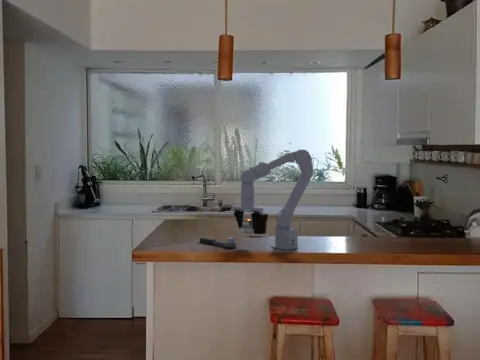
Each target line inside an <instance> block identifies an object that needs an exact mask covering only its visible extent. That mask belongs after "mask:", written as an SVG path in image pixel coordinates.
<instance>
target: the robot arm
mask: <svg viewBox="0 0 480 360" xmlns="http://www.w3.org/2000/svg"><path fill="white" fill-rule="evenodd" d="M295 162H296V164H297V165H298V167H299V169H300V172H301V173H300V174H299V176H298V179H297V180H296V183H295V184H294V187H293V188H292V191H291V193H289V194H290V195H289V197H288V199H287V200H286V203H284V206H283V207H282V209H281V210H280V211H279V212H278V213H277V214H276V217H275V219H276V225H275V233H274V234H275V236H274V238H275V239H274V243H275V245H271V246H270V247H271V248H274V249H279V250H285V251H288V250H289V251H290V250H295V249H298V248H299V247H300V246H298V237H299V236H298V231H297V229H294V228H293V226H292V222H293V220H292V218H293V216H294V214H295V210H296V208H297V206H298V205H299V202H300V200H301V198H302V196H303V195H304V192H305V190H306V188H307V187H308V184H309V183H310V180H311V179H312V176H313V174H314V169H313V158H312V156H311V154H310V152H309V151H308V150H306V149H297V150H296V151H291V152H287V153H286V154H283V155H282V156H280V157H278V158H276V159H274V160H272V161H270V162H266V161H263V162H262V161H260V162H258V164H257V165H254V166H253V167H252V166H250V167H249V168H248V169H249V170H248V169H246V170H244V171H243V172H242V173H241V175H240V179H241V185H240V186H241V187H240V206H232V212H233V215H234V217H235V219H236V222H237V225H238V228H239V229H241V226H242V220H243V219H244V214H245V213H250V216H251V219H252V229H256V227H257V223H258V220H259V218H260V216H261V213H264V208H261V207H255V185H254V181H255V180H260V179H261V178H264V177H266V176H268V175H269V174H270V173H271V171H272V170H274V169H277V168H278V167H280V166H283V165H285V164H288V163H295Z"/></svg>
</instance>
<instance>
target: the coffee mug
mask: <svg viewBox="0 0 480 360" xmlns="http://www.w3.org/2000/svg"><path fill="white" fill-rule="evenodd" d="M268 216H269V213H267V212H266V213H265V212H263V213H261V216H260V218H259V220H258V223H257V227H256V229H254V233H253V234H255V235H265V234H266V233H267V228H268V227H267V226H268V218H269V217H268Z"/></svg>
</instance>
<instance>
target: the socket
mask: <svg viewBox="0 0 480 360" xmlns="http://www.w3.org/2000/svg"><path fill="white" fill-rule="evenodd" d="M240 232H241V233H242V234H254V229H252V218H243V220H242V226H241V228H240Z"/></svg>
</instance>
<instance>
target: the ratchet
mask: <svg viewBox="0 0 480 360" xmlns="http://www.w3.org/2000/svg"><path fill="white" fill-rule="evenodd" d="M199 243H200V244H204V243H206V245H210V246H211V245H212V246H217V247H221V246H222V247H223V248H224V249H229V250H232V249H237V243H236V242H235V237H227V238H226V241H220V240H217V239H213V238H209V237H199Z"/></svg>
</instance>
